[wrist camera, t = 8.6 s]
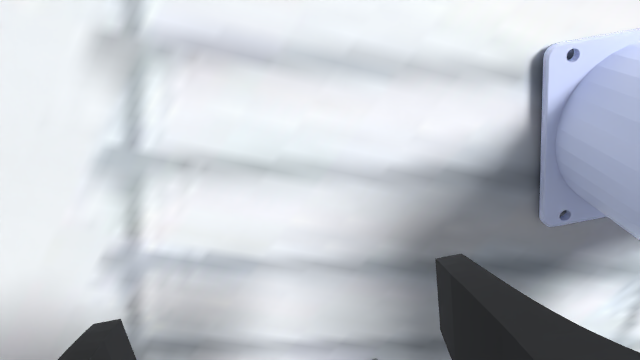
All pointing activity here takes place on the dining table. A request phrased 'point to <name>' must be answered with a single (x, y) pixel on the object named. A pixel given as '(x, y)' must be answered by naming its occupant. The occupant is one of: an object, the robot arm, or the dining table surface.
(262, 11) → the dining table surface
